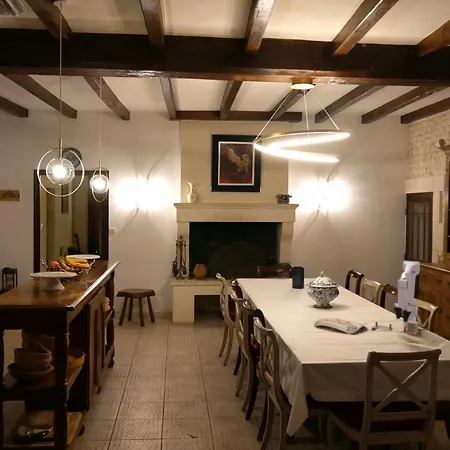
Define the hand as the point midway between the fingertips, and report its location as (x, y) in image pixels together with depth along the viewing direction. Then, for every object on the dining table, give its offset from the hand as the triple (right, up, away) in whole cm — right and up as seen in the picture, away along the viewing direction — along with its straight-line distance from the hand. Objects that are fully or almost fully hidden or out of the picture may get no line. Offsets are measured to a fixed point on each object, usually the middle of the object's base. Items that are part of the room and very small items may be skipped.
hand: (401, 320), depth 315 cm
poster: (-33, -9, +19) cm, 39 cm away
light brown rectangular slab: (+7, -8, +2) cm, 11 cm away
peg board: (0, -9, +8) cm, 12 cm away
